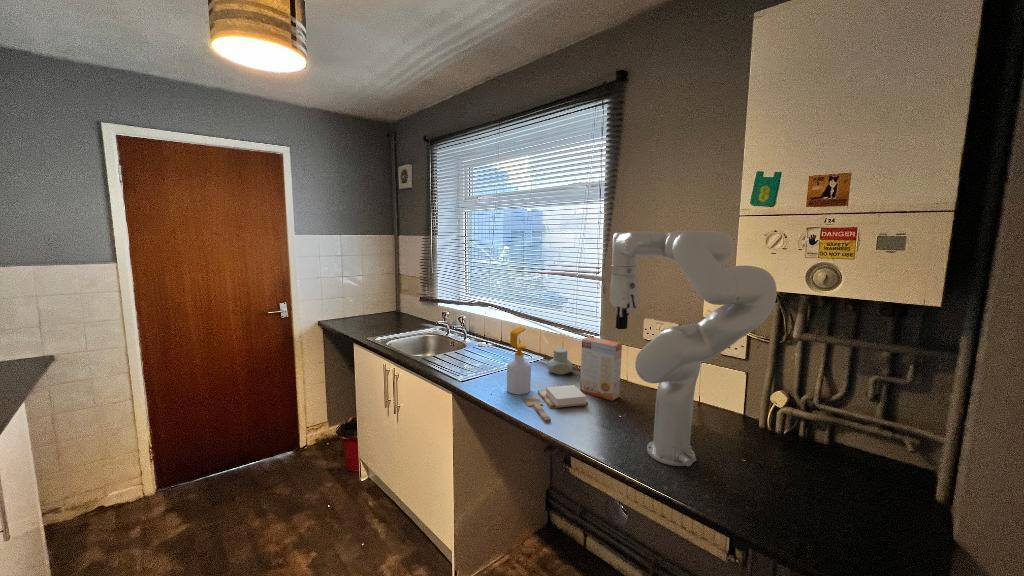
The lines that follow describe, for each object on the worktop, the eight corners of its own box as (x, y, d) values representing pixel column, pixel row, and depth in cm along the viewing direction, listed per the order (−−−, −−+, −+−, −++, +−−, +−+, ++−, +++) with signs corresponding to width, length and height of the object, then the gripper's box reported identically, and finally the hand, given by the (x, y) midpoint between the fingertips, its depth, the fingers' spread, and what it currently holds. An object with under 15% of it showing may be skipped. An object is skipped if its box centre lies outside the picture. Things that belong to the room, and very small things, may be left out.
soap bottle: (535, 391, 162) (536, 329, 158) (515, 397, 157) (516, 332, 153) (521, 384, 169) (522, 324, 165) (502, 389, 164) (503, 327, 160)
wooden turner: (556, 422, 137) (556, 418, 137) (539, 423, 136) (539, 420, 136) (536, 397, 156) (537, 394, 156) (522, 399, 155) (522, 396, 155)
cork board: (587, 404, 151) (587, 402, 151) (550, 408, 147) (550, 405, 147) (572, 390, 164) (572, 387, 164) (537, 393, 161) (538, 390, 160)
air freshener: (548, 375, 180) (548, 352, 178) (546, 369, 188) (547, 347, 187) (573, 376, 180) (574, 353, 178) (570, 369, 188) (571, 347, 187)
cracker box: (620, 397, 158) (623, 342, 155) (611, 401, 154) (614, 345, 151) (587, 387, 167) (590, 335, 164) (579, 391, 163) (581, 338, 160)
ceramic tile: (586, 396, 148) (574, 385, 159) (556, 399, 145) (546, 387, 156) (586, 404, 148) (573, 392, 159) (556, 407, 146) (545, 395, 156)
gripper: (648, 273, 128) (645, 333, 130) (621, 269, 142) (619, 323, 144) (626, 274, 126) (623, 334, 128) (601, 269, 140) (599, 324, 142)
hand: (621, 328), depth 136 cm, fingers closed
